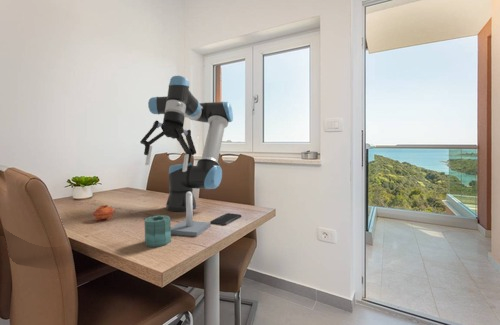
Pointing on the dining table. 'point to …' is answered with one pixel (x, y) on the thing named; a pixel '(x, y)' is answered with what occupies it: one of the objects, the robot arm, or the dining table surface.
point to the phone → (225, 219)
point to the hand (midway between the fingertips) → (166, 168)
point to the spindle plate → (190, 230)
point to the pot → (103, 212)
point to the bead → (157, 231)
